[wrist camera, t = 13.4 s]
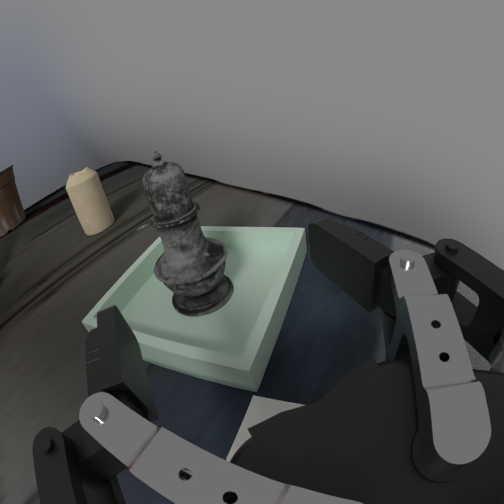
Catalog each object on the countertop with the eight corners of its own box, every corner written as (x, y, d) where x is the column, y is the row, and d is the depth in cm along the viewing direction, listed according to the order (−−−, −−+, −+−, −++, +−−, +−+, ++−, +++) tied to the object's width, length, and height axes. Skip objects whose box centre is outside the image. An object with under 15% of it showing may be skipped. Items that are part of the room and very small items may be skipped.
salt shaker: (159, 293, 25) (107, 164, 18) (215, 263, 27) (179, 136, 21) (186, 331, 20) (121, 174, 14) (251, 292, 23) (215, 139, 16)
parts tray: (96, 341, 21) (81, 321, 20) (176, 245, 32) (170, 226, 31) (257, 392, 16) (249, 371, 15) (306, 251, 27) (304, 228, 26)
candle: (115, 214, 45) (95, 160, 40) (114, 227, 41) (91, 167, 35) (87, 226, 44) (66, 174, 39) (83, 240, 40) (58, 182, 34)
